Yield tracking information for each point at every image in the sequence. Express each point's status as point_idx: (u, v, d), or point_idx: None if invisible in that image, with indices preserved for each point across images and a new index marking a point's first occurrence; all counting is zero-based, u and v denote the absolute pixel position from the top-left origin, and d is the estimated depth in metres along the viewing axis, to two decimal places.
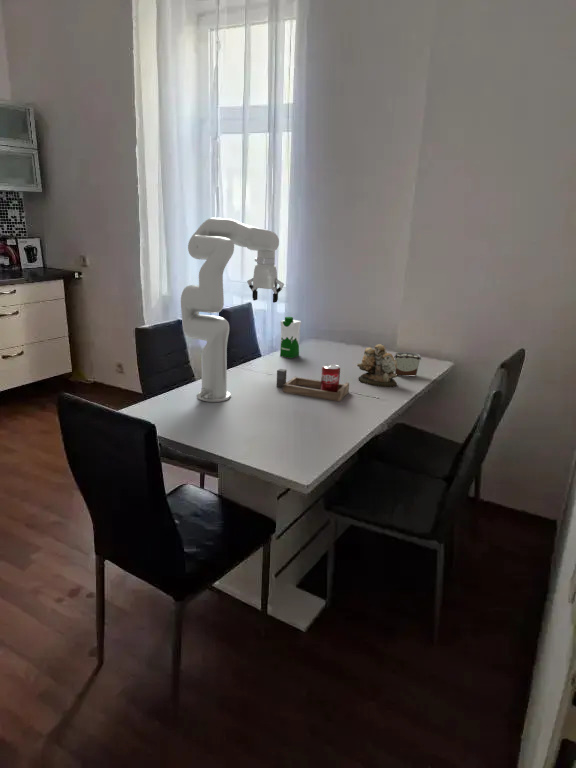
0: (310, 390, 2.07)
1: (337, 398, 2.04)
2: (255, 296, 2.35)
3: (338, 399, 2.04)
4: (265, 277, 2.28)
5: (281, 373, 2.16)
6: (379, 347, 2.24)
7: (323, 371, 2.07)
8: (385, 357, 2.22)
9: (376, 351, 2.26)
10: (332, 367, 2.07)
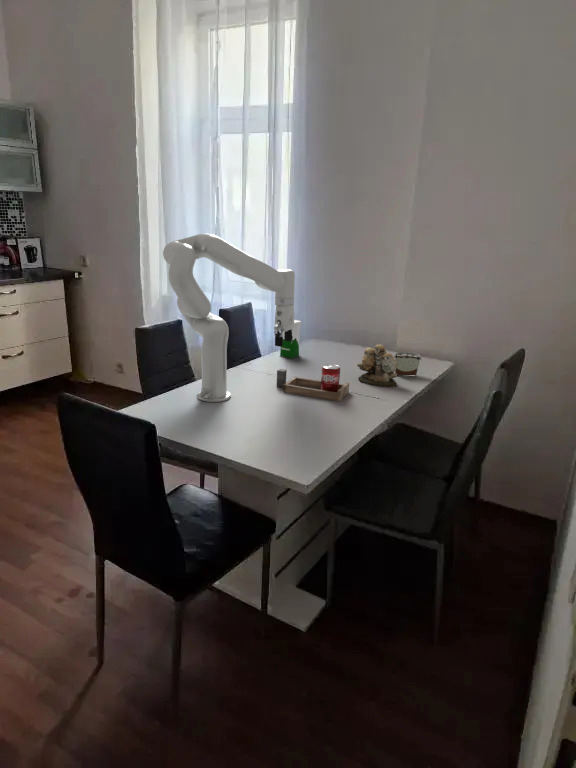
0: (310, 390, 2.07)
1: (337, 398, 2.04)
2: None
3: (338, 399, 2.04)
4: (292, 316, 2.10)
5: (281, 373, 2.16)
6: (379, 347, 2.24)
7: (323, 371, 2.07)
8: (385, 357, 2.22)
9: (376, 351, 2.26)
10: (332, 367, 2.07)
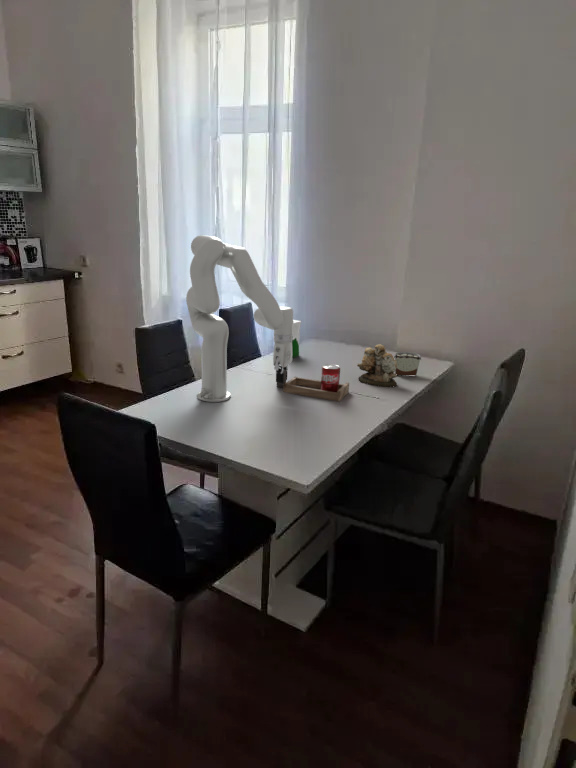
0: (310, 390, 2.07)
1: (337, 398, 2.04)
2: None
3: (338, 399, 2.04)
4: (290, 352, 2.15)
5: None
6: (379, 347, 2.24)
7: (323, 371, 2.07)
8: (385, 357, 2.22)
9: (376, 351, 2.26)
10: (332, 367, 2.07)
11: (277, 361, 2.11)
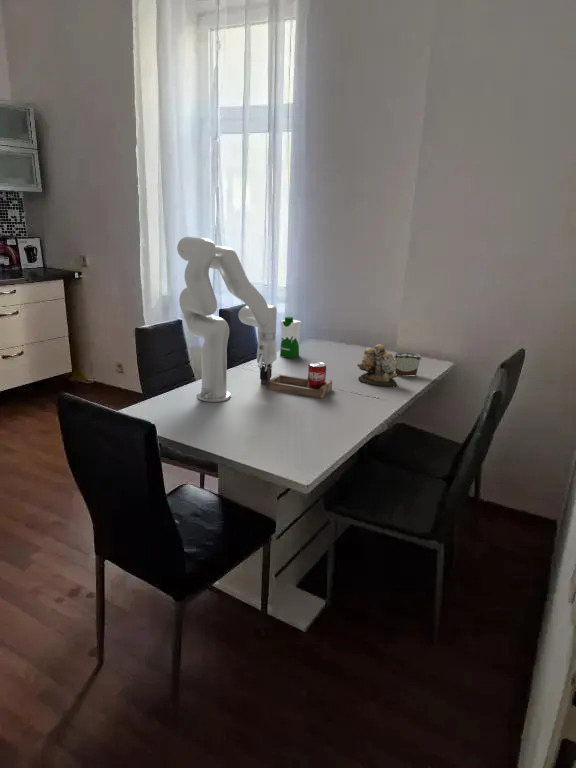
0: (293, 387, 2.10)
1: (319, 395, 2.06)
2: None
3: (320, 396, 2.06)
4: (274, 350, 2.17)
5: None
6: (379, 347, 2.24)
7: (309, 369, 2.09)
8: (385, 357, 2.22)
9: (376, 351, 2.26)
10: (318, 364, 2.10)
11: (261, 359, 2.13)
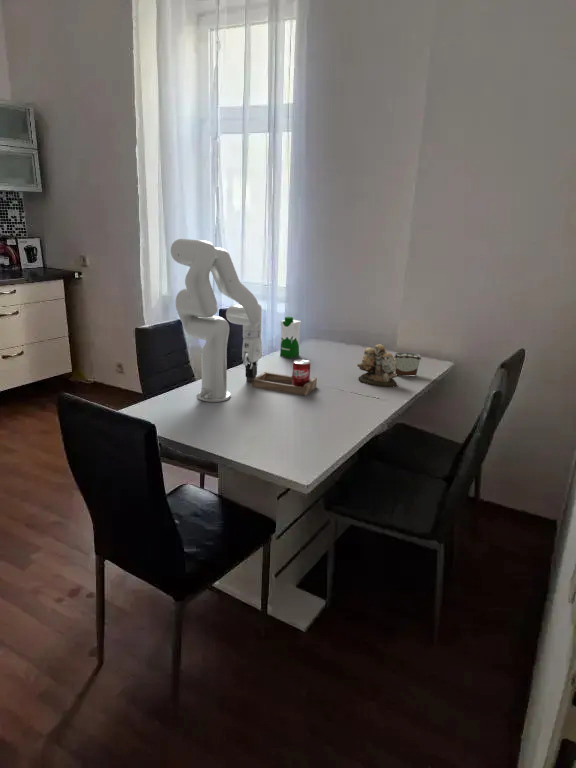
0: (278, 385, 2.12)
1: (303, 392, 2.09)
2: None
3: (304, 393, 2.09)
4: (259, 348, 2.20)
5: None
6: (379, 347, 2.24)
7: (293, 366, 2.12)
8: (385, 357, 2.22)
9: (376, 351, 2.26)
10: (302, 362, 2.12)
11: (246, 356, 2.16)
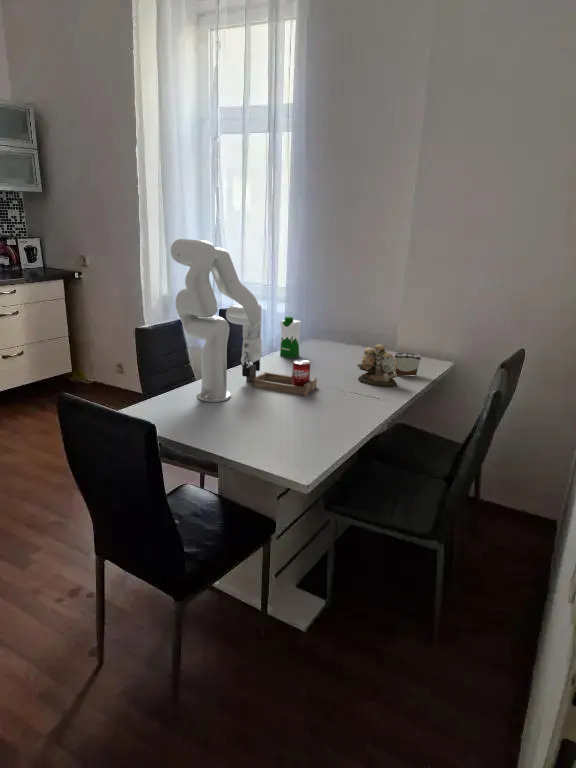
0: (277, 385, 2.12)
1: (303, 392, 2.09)
2: None
3: (304, 393, 2.09)
4: (259, 348, 2.20)
5: (250, 368, 2.20)
6: (379, 347, 2.24)
7: (293, 366, 2.12)
8: (385, 357, 2.22)
9: (376, 351, 2.26)
10: (302, 362, 2.12)
11: (246, 356, 2.16)
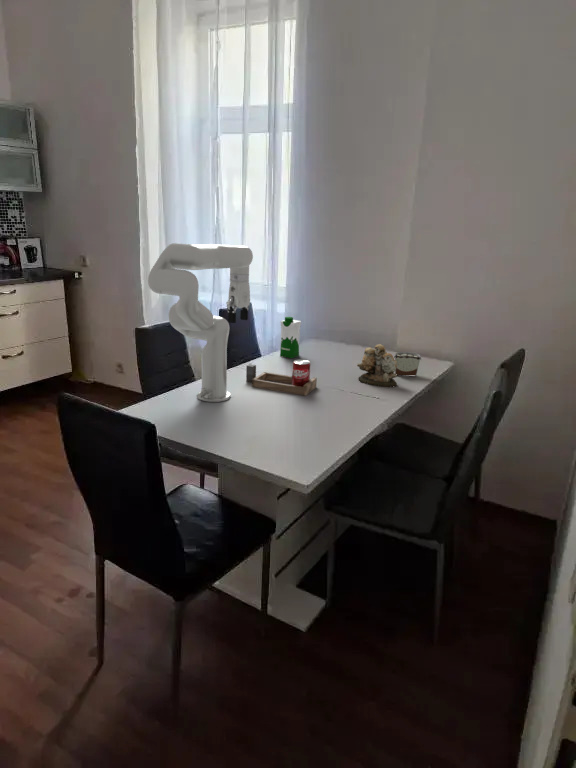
0: (277, 385, 2.12)
1: (303, 392, 2.09)
2: None
3: (304, 393, 2.09)
4: (246, 294, 2.10)
5: (250, 368, 2.20)
6: (379, 347, 2.24)
7: (293, 366, 2.12)
8: (385, 357, 2.22)
9: (376, 351, 2.26)
10: (302, 362, 2.12)
11: None
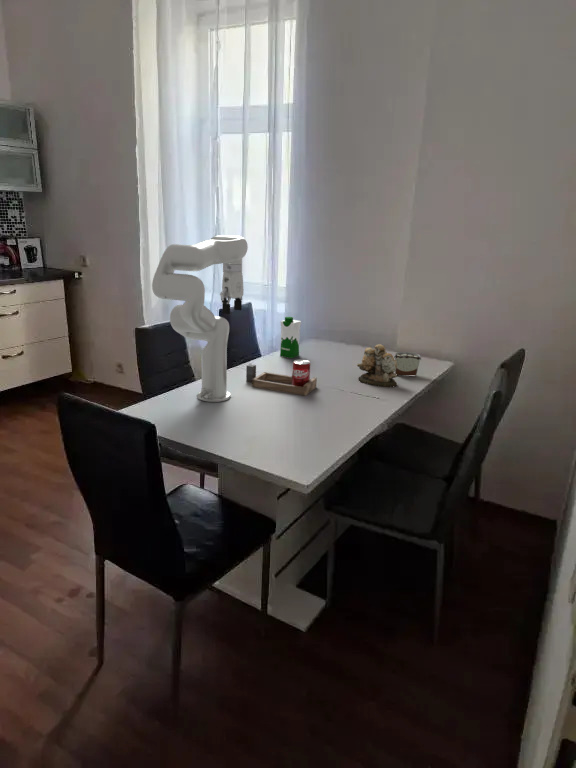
0: (277, 385, 2.12)
1: (303, 392, 2.09)
2: None
3: (304, 393, 2.09)
4: (240, 284, 2.08)
5: (250, 368, 2.20)
6: (379, 347, 2.24)
7: (293, 366, 2.12)
8: (385, 357, 2.22)
9: (376, 351, 2.26)
10: (302, 362, 2.12)
11: None
